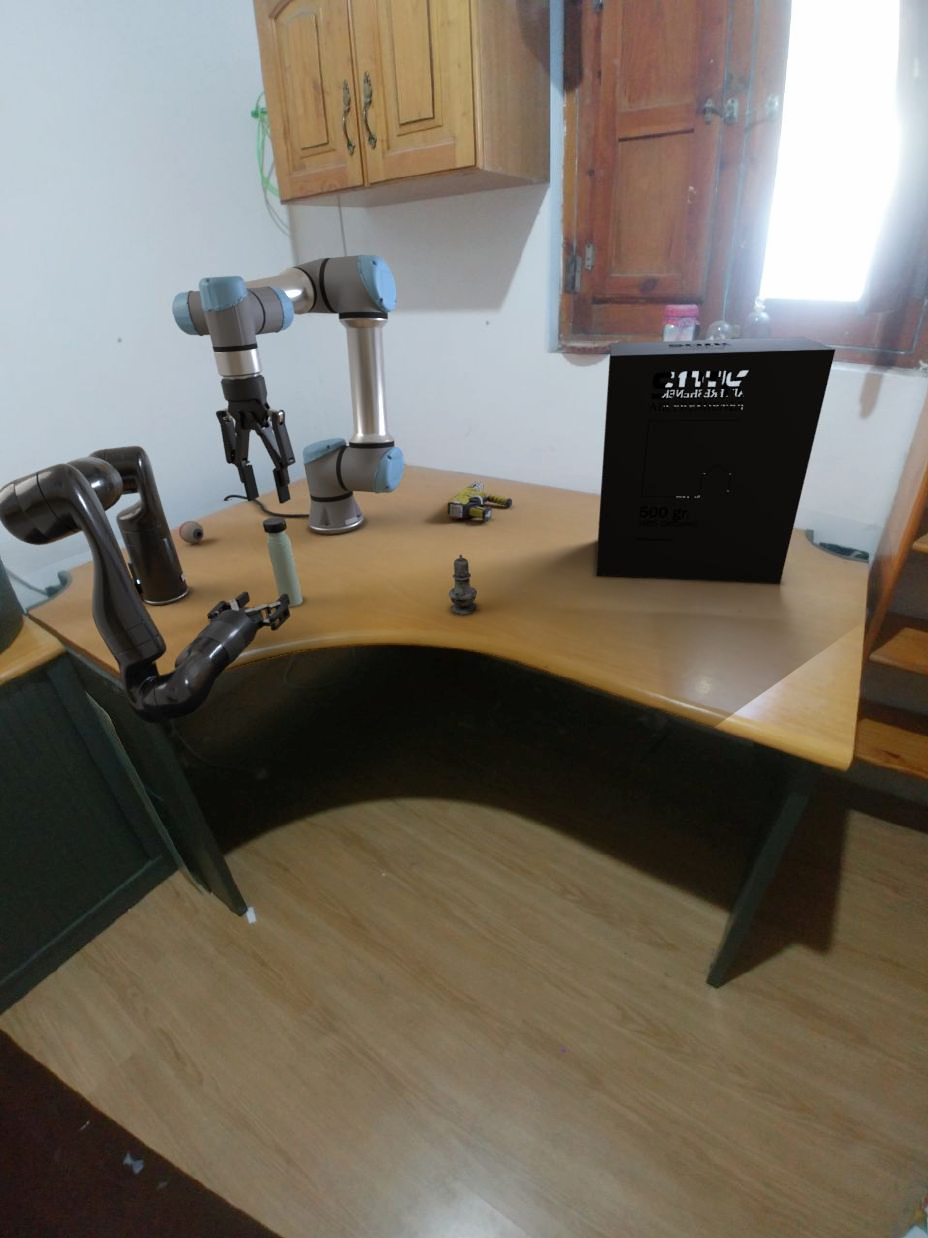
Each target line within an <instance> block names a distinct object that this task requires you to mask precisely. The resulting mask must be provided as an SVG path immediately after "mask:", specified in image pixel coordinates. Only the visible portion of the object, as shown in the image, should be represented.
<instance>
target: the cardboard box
mask: <svg viewBox="0 0 928 1238" xmlns="http://www.w3.org/2000/svg"><path fill="white" fill-rule="evenodd" d="M835 354H836V349H835V348H833V347H830V346H829V345H826V344H823V343H821V342H818V341H815V340H813V339H811V338H808V337H805V336H793V337H791V336H790V337H762V338H761V337H757V338H729V339H727V338H726V339H700V340H699V339H698V340H696V339H695V340H671V341H670V340H669V341H668V340H667V341H665V340H664V341H639V342H638V341H637V342H611V343H610V346H609V357H608V358H609V361H608V376H607V388H606V389H607V390H606V395H607V396H606V404H605V405H606V407H605V408H606V409H605V421H604V436H603V437H604V438H603V452H602V453H603V454H602V466H601V467H602V469H601V470H602V472H601V483H600V484H601V485H600V499H599V501H600V502H599V515H598V531H597V532H598V533H597V546H596V547H597V548H596V549H597V551H596V572H595V575H596V576H598V577H599V576H601V577H620V578H621V577H623V578H624V577H625V578H644V579H645V578H647V579H671V580H691V581H693V580H694V581H713V582H714V581H717V582H738V583H739V582H740V583H741V582H742V583H760V584H762V583H763V584H781V582H782V577H783V573H784V569H785V565H786V560H787V557H788V551H789V547H790V543H791V539H792V535H793V530H794V526H795V522H796V519H797V513H798V511H799V510H798V509H799V505H800V501H801V497H802V492H803V488H804V484H805V481H806V477H807V471H808V469H809V463H810V459H811V454H812V451H813V447H814V443H815V438H816V434H817V430H818V425H819V421H820V416H821V413H822V408H823V404H824V400H825V395H826V391H827V387H828V384H829V383H828V382H829V378H830V374H831V370H832V365H833V361H834V357H835ZM746 371H747V372H746ZM685 372H686V375H685V376H686V377H685V379H684V386H680V382H681V377H680V375H681V374H683V373H685ZM693 372H698V374H697V377H696V376H693ZM708 372H709V376H707V374H708ZM741 372H746V373H745V375H744V376H739V374H740V373H741ZM729 374H730V377H729V382H738V385H733V386H732V385H728V383H727V380H728V376H729ZM709 382H710V383H715V384H714V386H709ZM696 383H699V385H698V386H696ZM667 384H672V386H667Z"/></svg>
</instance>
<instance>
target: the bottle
mask: <svg viewBox="0 0 928 1238" xmlns="http://www.w3.org/2000/svg"><path fill="white" fill-rule="evenodd" d="M267 534H268V535H267V540H266V545H267V549H268V554H269V559H270V564H271V568H272V571H273V576H274V580H275V584H276V587H277V588H276V590H277V593H278V598H279V597H280V596H281V595H282V594H287V595H288V596H289V600H290V604H289V605H288V607H289V608H294V607H298V606H299V605H301V604H302V603H303V596H302V595H303V594H302V590H301V586H300V581H299V577H298V571H297V567H296V563H295V558H294V553H293V547H292V543H291V539H290V537H289V536H288V534H287V533H286V532H285V530H284V531H282V532H279V533H272V534H271V533H267Z"/></svg>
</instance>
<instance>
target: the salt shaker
mask: <svg viewBox="0 0 928 1238" xmlns="http://www.w3.org/2000/svg"><path fill="white" fill-rule="evenodd" d="M453 571H454V572H453V575H452V578H453V579H454V587H453V588H451V589H449V591H448V597H449V598H450V601H451V602H452V603H453V604H452V605H451V606H450V610H451V612H453V613H454V614H456V615H469V614H472V613H474V612H476V610H477V604H476V603H475V601H476V598H477V595H478V590H477V589H476V588H475V587H473V586H471V581H470V580H471V579H470V578H471V577H472V574H471V573H470V569H469V560H468V559H467V558H465V557H463V555H462V554H459V555H458V558H455V560H454V561H453Z"/></svg>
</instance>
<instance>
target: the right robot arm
mask: <svg viewBox="0 0 928 1238" xmlns="http://www.w3.org/2000/svg"><path fill="white" fill-rule="evenodd" d="M395 282H396V281H395V278H394V275H393V272H392V270H391V269H390V266H389V265H388V263H387V262H386V260H384V258H382V257H381V256H379V255H376V254H375V255H373V254H359V255H346V256H336V257H322V258H317V259H314V260H312V261H310V260H309V261H308V262H304V263H301V264H298V265H295V266H291V267H286V268H284V269H283V270H281V272H280V273H279V274H277V275H273V276H268V277H263V278H257V279H253V280H249V281H245V280H244V278H243V277H241V276H239V275H229V276H227V275H226V276H210V277H202V278H200V280H199V282H198V289H199V290H188V291H184V292H179V293H177V294H176V295H175V296H174V297H173V300H172V304H171V310H172V311H171V312H172V315H173V318H174V322H175V324H176V325H177V327H178V328H179V329H180V331H182V332H183V333H185V334H186V335H189V336H199V337H204V336H209V337H210V341H211V345H212V346H211V347H212V351H213V357H214V361H215V365H216V368H217V369H216V370H217V373H218V375H219V376H220V377H222V378H221V380H220V385H221V389H222V394H223V398H224V400H225V401H226V402H227V408H223V409H219V410H217V411H216V412H215V415H216V418H217V420H218V423H219V427H220V431H221V438H222V443H223V450H224V455H225V461H226V463H227V464H228V465H231V464H232V465H234V466H235V467H236V468H237V472H238V476H239V481H240V483H241V484H243V486H244V491H245V495H246V496H244V495H240V494H229V495H227V496H225V497H224V498H223V502H227V501H228V500H229V499H233V498H237V499H242V500H246V501H247V502H254V503H256V504H257V505H258V506H259V507H260V509H261V511H262V512H263V513H265V514H267V515H269V516H274V517H283V518H308V521H307V524H308V528H309V529H308V530H310V531H311V532H312V533H314V534H317V535H323V536H324V535H325V536H327V535H329V536H331V535H339V534H340V535H341V534H345V533H350V532H353V531H355V530H357V529H359V528H361V527H362V526H363V525H364V523H365V519H364V514H363V512H362V510H361V508H360V505H359V504H358V501H357V500H356V498H355V495H354V492H360V493H361V492H362V493H374V494H389V493H392V492H394V491H395V490H396V489H397V488H398V487H399V485H400V483H401V481H402V479H403V475H404V470H405V469H404V468H405V456H404V454H403V450H402V449H401V448H400V447H398V446H395V438H394V437H393V436H392V435H391V434H390V432H389V429H388V428H389V426H388V409H387V391H386V374H385V372H386V371H385V355H384V337H383V336H384V335H383V329H384V327H385V326H386V324H387V323H389V313H391V312H392V311H393V310H395V308H396V303H397V287H396V283H395ZM305 314H331V315H333V314H335V315H338V322H339V323H340V324H341V325H342V326H343V327H344V328H345V331H346V332H345V333H346V345H347V358H348V359H347V360H348V373H349V384H350V398H351V409H352V422H353V423H352V424H353V434H352V435H351V436H350V438H349V439H348V445H347V441H346V439H345V438H342V437H334V438H328V439H323V440H320V441H319V440H318V441H316V442H313V443H309V444H308V445H306V446H305V447H304V448H303V450H302V457H303V458H302V460H303V467H304V471H305V477H306V481H307V486H308V492H309V498H310V507H309V513H296V514H295V513H291V514H290V513H280V512H279V513H278V512H273V511H270V510H267V509H266V508H264V504H262V503H261V502H260V501H259V500H258V499H259V497H260V493H259V490H258V485H257V480H256V477H255V472H254V468H253V467H254V466H253V464H250V463H251V461H250V460H249V450H250V435H251V431H255V433H256V435H257V436H258V437H259V438H260V439H261V441H262V443H263V446H264V448H265V450H266V452H267V453H268V456H269V457H270V460H271V461H272V464H273V466H274V468H273V469H272V475H273V480H274V484H275V489H276V495H277V498H278V502H279V504H285V503H286V502H288V501H291V494H290V493H291V492H290V489H289V485H290V483H291V477H290V474H289V469H288V467H290V466H292V465H294V464H295V463H296V457H295V454H294V450H293V446H292V442H291V440H290V436H289V432H288V429H287V425H286V412H285V410H284V409H279V410H276V409H273V408H271V406H270V404H269V402H268V399H267V398H268V391H267V390H268V389H267V384H266V380H265V376H263V375H262V374H261V373H262V372H263V365H262V362H261V361H262V360H261V357H260V351H259V348H258V347H259V346H258V342H257V336H259V335H267V334H272V333H276V334H278V333H280V332H282V331H285V330H286V329H288V328H289V327H290V326H291V325H292V323H293V321H294V317H295V315H305Z"/></svg>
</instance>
